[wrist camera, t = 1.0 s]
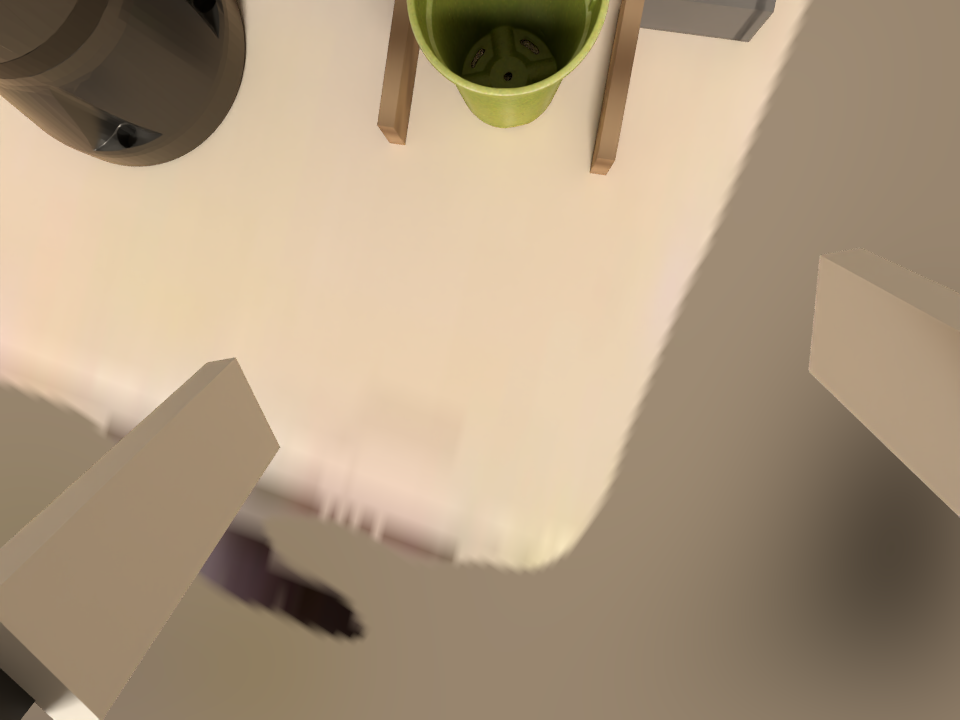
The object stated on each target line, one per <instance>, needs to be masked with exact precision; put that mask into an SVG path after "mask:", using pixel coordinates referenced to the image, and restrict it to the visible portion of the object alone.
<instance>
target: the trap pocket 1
mask: <svg viewBox="0 0 960 720" xmlns="http://www.w3.org/2000/svg"><path fill="white" fill-rule="evenodd" d="M775 2H776V0H645V1H644V7H643V12H642V17H641V23H640V28H647V29H655V30H662V31H670V32H677V33H685V34H692V35H700V36H708V37H715V38H723V39H730V40H738V41H745V42H749V41H750V40H751V38H752V37H753V36H754V35H755V34H756V32H757V31H758V30H759V29H760V28H761V26H762V25H763V24H764V23H765V22H766V20H767V19H768V18H769V17H770V16H771V14H772V13H773V12H774V7H775Z"/></svg>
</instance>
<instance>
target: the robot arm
mask: <svg viewBox="0 0 960 720" xmlns="http://www.w3.org/2000/svg"><path fill="white" fill-rule="evenodd" d="M244 55H245V42H244V31H243V25H242V20H241V16H240V12H239V9H238V6H237V3H236V0H0V95H1V96H2V97H3V98H5V99H6V100H7V101H8V102H9V103H11V104H12V105H13V106H14V107H16V108H17V109H18V110H19V111H20V112H22V113H23V114H24V115H25V116H26V117H28V118H29V119H30V120H31V121H32V122H34V123H35V124H36V125H37V126H38V127H40V128H41V129H42V130H43V131H45V132H46V133H47V134H49V135H50V136H52V137H53V138H55V139H56V140H58V141H60V142H62V143H63V144H65V145H67V146H69V147H71V148H73V149H76V150H78V151H81V152H83V153H86V154H88V155H91V156H93V157H96V158H98V159H101V160H104V161H107V162H110V163H114V164H118V165H124V166H151V165H157V164H162V163H165V162H168V161H172V160H174V159H176V158H179V157H181V156H183V155H185V154H187V153H188V152H190V151H192V150H193V149H195V148H196V147H197V146H199V145H200V144H201V143H203V142H204V141H205V140H206V139H207V138H208V137H209V136H210V135H211V134H212V133H213V132H214V131H215V130H216V129H217V127H218V126H219V125H220V123H221V122H222V121H223V119H224V118H225V116H226V115H227V113H228V111H229V109H230V108H231V106H232V104H233V101H234V99H235V97H236V94H237V91H238V88H239V85H240V81H241V77H242V73H243V66H244ZM808 371H809V372H810V373H811V374H812V375H813V376H814V377H815V378H816V379H817V380H818V381H819V382H820V383H821V384H822V385H823V386H824V387H825V388H826V389H827V390H828V391H829V392H830V393H831V394H833V395H834V396H835V397H836V398H837V399H838V400H839V401H840V402H841V403H842V404H843V405H844V406H845V407H846V408H847V409H848V410H849V411H850V412H851V413H852V414H853V415H854V416H855V417H856V418H858V419H859V420H860V422H862V423H863V424H864V425H865V426H866V427H867V428H868V429H869V430H870V431H871V432H872V433H873V434H874V435H875V436H876V437H877V438H878V439H879V440H880V441H881V442H882V443H883V444H884V445H885V446H886V447H887V448H888V449H889V450H891V451H892V452H893V453H894V454H895V455H896V456H897V457H898V458H899V459H900V460H901V461H902V462H903V463H904V464H905V465H906V466H907V467H908V468H909V469H910V470H911V471H912V472H913V473H914V474H915V475H916V476H917V477H919V478H920V479H921V480H922V481H923V482H924V483H925V484H926V485H927V486H928V487H929V488H930V489H931V490H932V491H933V492H934V493H935V494H936V495H937V496H938V497H939V498H940V499H941V500H942V501H943V502H944V503H945V504H947V505H948V506H949V507H950V508H951V509H952V510H953V511H954V512H955V513H956V514H957V515H958V516H959V517H960V293H958V292H956V291H954V290H951V289H949V288H947V287H945V286H943V285H941V284H939V283H936V282H934V281H932V280H930V279H928V278H926V277H923V276H921V275H919V274H917V273H915V272H913V271H910V270H908V269H906V268H904V267H902V266H899V265H898V264H895V263H893V262H891V261H889V260H887V259H885V258H882V257H880V256H878V255H876V254H873V253H872V252H869V251H867V250H865V249H863V248H857V249H851V250H845V251H839V252H833V253H828V254H822V255H820V258H819V269H818V279H817V290H816V300H815V309H814V320H813V330H812V340H811V351H810V360H809V370H808ZM279 448H280V446H279V444H278V442H277V440H276V438H275V436H274V434H273V432H272V430H271V428H270V426H269V424H268V422H267V420H266V418H265V416H264V414H263V412H262V410H261V408H260V406H259V404H258V402H257V400H256V398H255V396H254V394H253V392H252V390H251V388H250V386H249V384H248V382H247V379H246V377H245V375H244V373H243V371H242V369H241V367H240V365H239V363H238V361H237V359H236V358H230V359H225V360H219V361H213V362H208V363H206V364H205V365H204V366H203V367H202V368H201V369H200V370H199V371H197V372H196V373H195V374H194V375H193V376H192V377H191V378H190V379H188V380H187V381H186V382H185V383H184V384H183V385H182V386H181V387H180V388H178V389H177V390H176V391H175V392H174V393H173V394H172V395H171V396H170V397H168V398H167V399H166V400H165V401H164V402H163V403H162V404H161V405H159V406H158V407H157V408H156V409H155V410H154V411H153V412H152V413H151V414H149V415H148V416H147V417H146V418H145V419H144V420H143V421H142V422H141V423H139V424H138V425H137V426H136V427H135V428H134V429H133V430H132V431H130V432H129V433H128V434H127V435H126V436H125V437H124V438H123V439H122V440H120V441H119V442H118V443H117V444H116V445H115V446H114V447H113V448H112V449H110V450H109V451H108V452H107V453H106V454H105V455H104V456H103V457H102V458H100V459H99V460H98V461H97V462H96V463H95V464H94V465H93V466H92V467H90V468H89V469H88V470H87V471H86V472H85V473H84V474H83V475H82V476H80V477H79V478H78V479H77V480H76V481H75V482H74V483H73V484H71V485H70V486H69V487H68V488H67V489H66V490H65V491H64V492H63V493H61V494H60V495H59V496H58V497H57V498H56V499H55V500H54V501H52V502H51V503H50V504H49V505H48V506H47V507H46V508H45V509H44V510H43V511H41V512H40V513H39V514H38V515H37V516H36V517H35V518H34V519H33V520H31V521H30V522H29V523H28V524H27V525H26V526H25V527H23V528H22V529H21V530H20V531H19V532H18V533H17V534H16V535H15V536H13V537H12V538H11V539H10V540H9V541H8V542H7V543H6V544H5V545H4V546H2V547H1V548H0V720H21V718H22V717H23V716H24V714H25V713H26V712H27V711H28V709H29V708H30V707H31V706H32V704H33V703H34V702H35V703H36V704H37V705H38V706H40V707H41V708H42V709H43V710H44V711H45V712H46V713H47V714H48V715H49V716H50V717H51V718H53V719H54V720H103V719H104V717H105V716H106V714H107V712H108V711H109V709H110V708H111V706H112V705H113V703H114V702H115V700H116V698H117V697H118V696H119V694H120V693H121V691H122V690H123V688H124V686H125V685H126V683H127V682H128V680H129V679H130V677H131V676H132V674H133V673H134V671H135V669H136V668H137V666H138V665H139V663H140V662H141V660H142V659H143V657H144V655H145V654H146V653H147V651H148V650H149V648H150V646H151V645H152V643H153V642H154V640H155V639H156V637H157V636H158V634H159V633H160V631H161V629H162V628H163V626H164V625H165V623H166V622H167V620H168V619H169V617H170V616H171V614H172V613H173V611H174V610H175V608H176V606H177V605H178V603H179V602H180V600H181V599H182V597H183V596H184V594H185V593H186V591H187V590H188V588H189V587H190V585H191V583H192V582H193V580H194V579H195V577H196V576H197V574H198V573H199V571H200V570H201V568H202V567H203V565H204V563H205V562H206V560H207V559H208V557H209V556H210V554H211V553H212V551H213V550H214V548H215V547H216V545H217V543H218V542H219V540H220V539H221V537H222V536H223V534H224V533H225V531H226V530H227V528H228V527H229V525H230V523H231V522H232V520H233V519H234V517H235V516H236V514H237V513H238V511H239V510H240V508H241V507H242V505H243V503H244V502H245V500H246V499H247V497H248V496H249V494H250V493H251V491H252V490H253V488H254V487H255V485H256V484H257V482H258V480H259V479H260V477H261V476H262V474H263V473H264V471H265V470H266V468H267V467H268V465H269V464H270V462H271V460H272V459H273V457H274V456H275V454H276V453H277V451H278V450H279Z"/></svg>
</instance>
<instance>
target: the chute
mask: <svg viewBox="0 0 960 720" xmlns="http://www.w3.org/2000/svg"><path fill="white" fill-rule="evenodd" d="M644 1H645V0H622V3H621V6H620V10H619V16H618V21H617V27H616V32H615V38H614V43H613V49H612V54H611V60H610V65H609V71H608V76H607V82H606V88H605V93H604V99H603V104H602V110H601V115H600V121H599V126H598V132H597V137H596V143H595V148H594V154H593V159H592V165H591V170H590V173H595V174H602V175H606V174H607V172H608V171H609V169H610V168H611V166H612V164H613V163H614V161H615V158H616V152H617V147H618V142H619V136H620V131H621V125H622V120H623V115H624V109H625V104H626V98H627V93H628V88H629V82H630V77H631V71H632V66H633V61H634V55H635V50H636V44H637V39H638V34H639V28H640V23H641V17H642V12H643V7H644ZM419 47H420V46H419V44H418V42H417V40H416V38H415V36H414V33H413V31H412V27H411V24H410V20H409V15H408V9H407V0H395V4H394V11H393V18H392V25H391V32H390V39H389V46H388V53H387V60H386V67H385V74H384V81H383V88H382V95H381V102H380V109H379V116H378V123H377V125H378V127H379V128H380V130H381V131H382V132H383V134H384V135H385V137H386V138H387V139H388V141H389V142H390V143H394V144H401V145H405V142H406V135H407V128H408V122H409V115H410V108H411V101H412V95H413V88H414V81H415V74H416V68H417V61H418V54H419Z"/></svg>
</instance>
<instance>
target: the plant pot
mask: <svg viewBox="0 0 960 720" xmlns="http://www.w3.org/2000/svg"><path fill="white" fill-rule="evenodd" d="M608 6H609V0H407V9H408V15H409V20H410V24H411V27H412V31H413V33H414V36H415V38H416V40H417V42H418V44H419V46H420V48H421V50H422V51H423V53H424V55H425V56H426V58H427V59H428V60H429V62H430V63H431V64H432V65H433V66H434V67H435V68H436V69H437V70H438V71H439V72H440V73H441V74H442V75H443V76H444V77H446V78H447V79H448V80H450V81H451V82H453V83H454V84H456V86H457V88H458V90H459V92H460V94H461V95H462V97H463V99H464V101H465V102H466V104H467V106H468V107H469V109H470V110H471V111H472V112H473V114H474V115H475V116H477V117H478V118H479V119H480V120H482V121H483V122H485V123H487V124H489V125H492V126H494V127H499V128H509V127H516V126H520V125H524V124H528V123H530V122H532V121H533V120H535V119H536V118H537V117H539V116H540V115H541V114H542V113H543V112H544V111H545V110H546V109H547V107H548V106H549V104H550V103H551V101H552V99H553V97H554V95H555V93H556V91H557V89H558V87H559V85H560V83H561V81H562V79H563V78H564V77H566V76H567V75H568V74H569V73H570V72H571V71H573V70H574V69H575V68H576V67H577V66H578V65H579V64H580V63H581V61H582V60H583V59H584V58H585V56H586V55H587V54H588V52H589V51H590V50H591V48H592V46H593V45H594V43H595V41H596V39H597V37H598V35H599V33H600V31H601V29H602V26H603V23H604V21H605V18H606V14H607V10H608ZM523 39H524V40H528V41H530V42H531V43H532V44H534V45H535V46H536V47H537V48H538V50H539V53H538V54H535V53H534V52H532V51H531V50H530V49H529V48H528V47H526V46H524V45H522V44H521V43H520V41H521V40H523ZM481 49H485V52H484V54H483V55H482V56H481V57H480V58H479V59H478V61H477V62H476V65H475V67H474V68H472V66H471V63H472V60H473V58H474V57H475V55H476V53H477V52H478V51H479V50H481ZM507 72H510V73H511V74H512V78H511V80H509V81H506V80H505V78H504V75H505V74H506V73H507Z"/></svg>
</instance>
